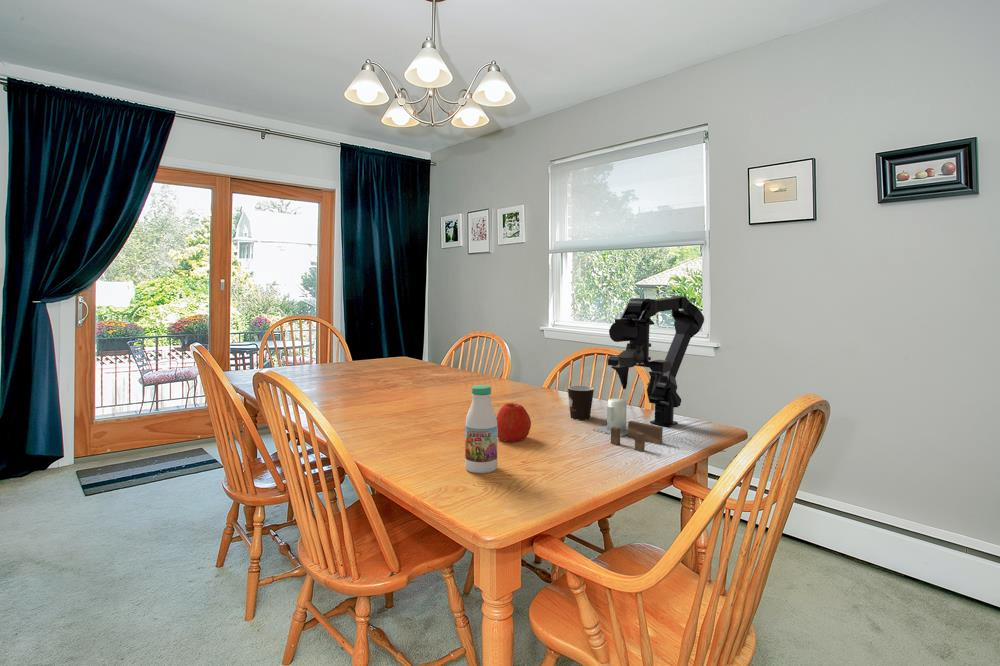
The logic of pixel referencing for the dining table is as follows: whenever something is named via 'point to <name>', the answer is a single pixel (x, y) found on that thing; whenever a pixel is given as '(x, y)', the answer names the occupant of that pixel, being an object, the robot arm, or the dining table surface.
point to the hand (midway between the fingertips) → (637, 391)
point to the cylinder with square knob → (616, 414)
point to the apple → (513, 423)
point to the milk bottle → (481, 432)
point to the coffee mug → (580, 401)
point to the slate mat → (604, 429)
